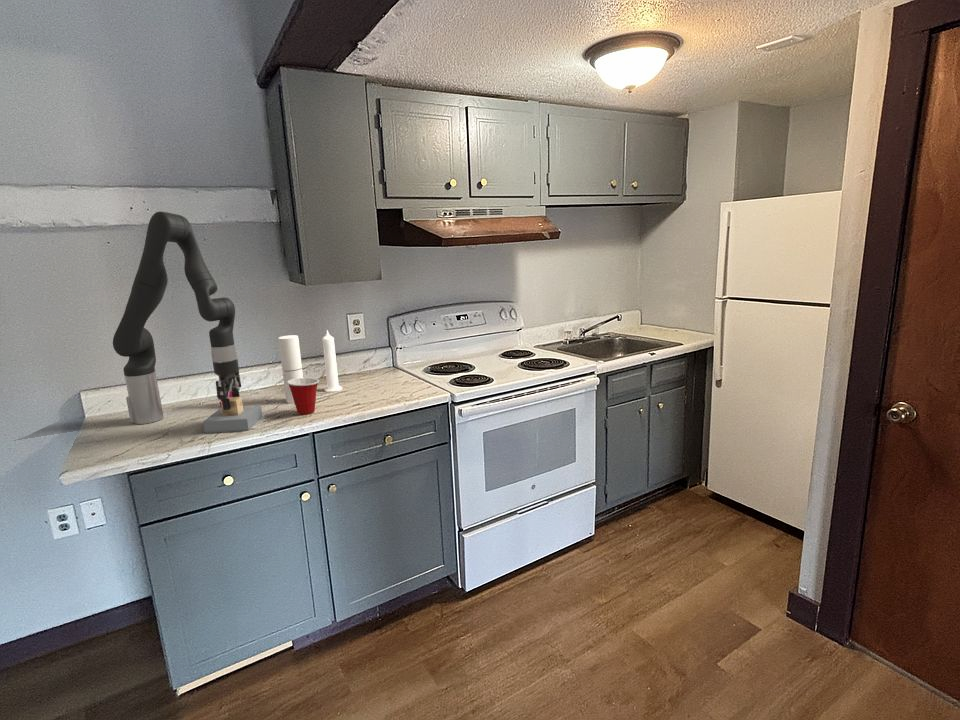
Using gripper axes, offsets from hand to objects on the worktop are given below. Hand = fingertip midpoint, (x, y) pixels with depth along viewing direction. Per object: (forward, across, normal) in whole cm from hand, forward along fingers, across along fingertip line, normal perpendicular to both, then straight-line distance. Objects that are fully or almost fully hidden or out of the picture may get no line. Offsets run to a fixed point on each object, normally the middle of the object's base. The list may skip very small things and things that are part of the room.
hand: (232, 405), depth 180 cm
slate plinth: (+7, 0, 0) cm, 7 cm away
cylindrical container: (+7, -25, +14) cm, 29 cm away
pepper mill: (+7, -24, -11) cm, 27 cm away
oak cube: (+3, 0, 0) cm, 3 cm away
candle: (+7, -37, +26) cm, 46 cm away
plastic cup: (+7, -9, +22) cm, 25 cm away
